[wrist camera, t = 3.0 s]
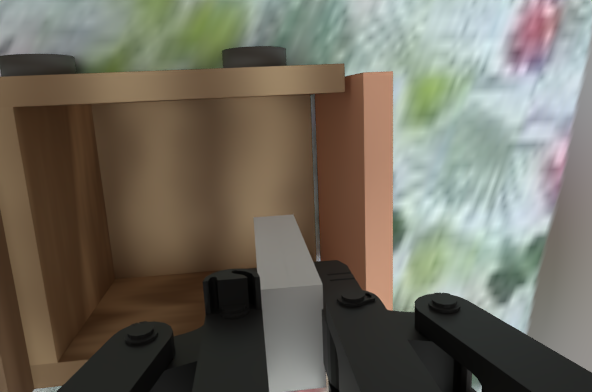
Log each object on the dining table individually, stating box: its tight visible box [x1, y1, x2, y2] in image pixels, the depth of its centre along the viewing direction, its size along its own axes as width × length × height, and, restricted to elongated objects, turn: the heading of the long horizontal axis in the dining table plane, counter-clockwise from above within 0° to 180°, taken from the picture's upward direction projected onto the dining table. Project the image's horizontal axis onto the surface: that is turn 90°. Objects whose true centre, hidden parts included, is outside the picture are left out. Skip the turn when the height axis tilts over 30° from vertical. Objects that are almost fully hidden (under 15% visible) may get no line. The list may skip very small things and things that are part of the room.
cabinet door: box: [315, 71, 393, 311], centre depth 25 cm, size 2×13×12 cm, turn 3°
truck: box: [0, 46, 345, 392], centre depth 25 cm, size 19×17×14 cm
